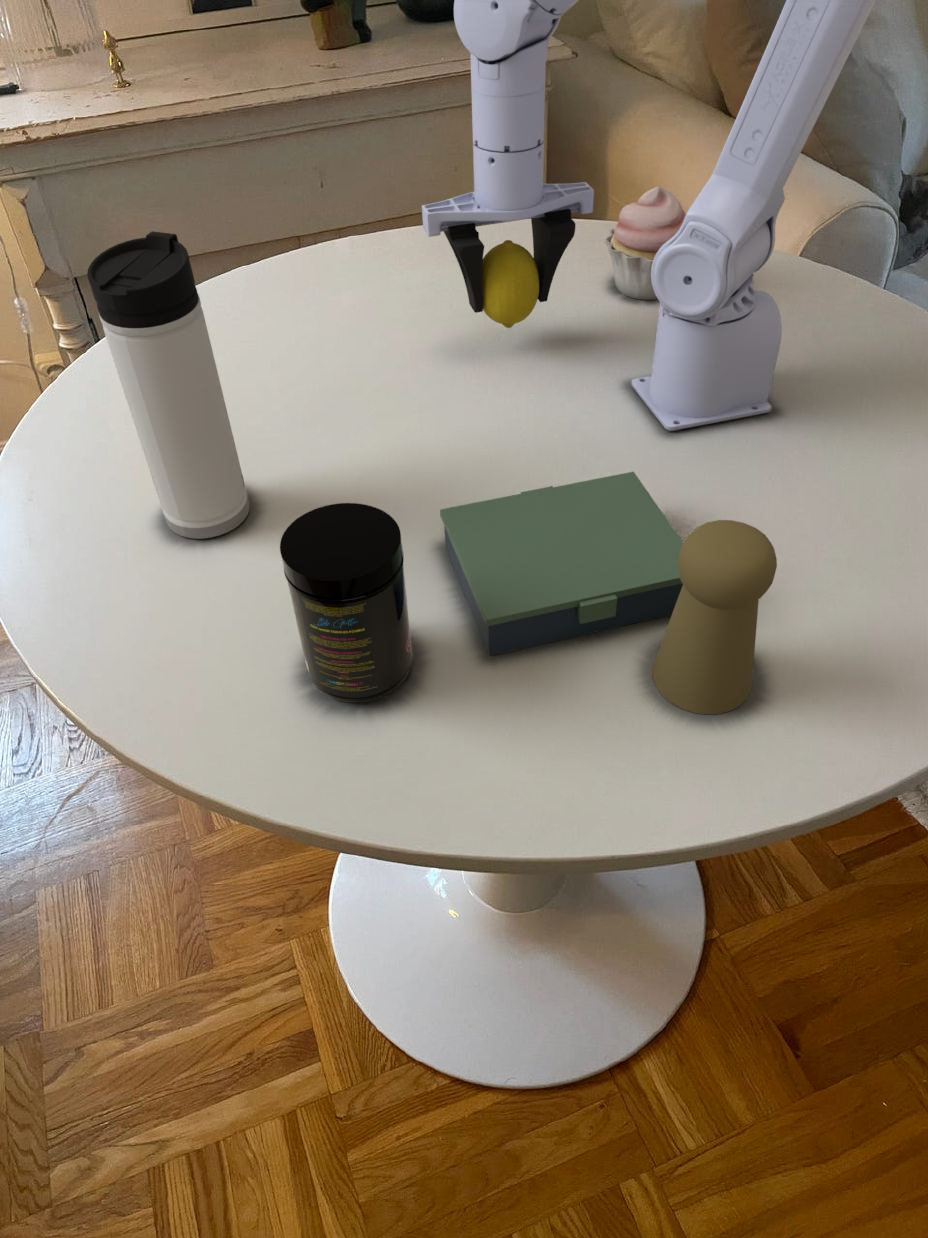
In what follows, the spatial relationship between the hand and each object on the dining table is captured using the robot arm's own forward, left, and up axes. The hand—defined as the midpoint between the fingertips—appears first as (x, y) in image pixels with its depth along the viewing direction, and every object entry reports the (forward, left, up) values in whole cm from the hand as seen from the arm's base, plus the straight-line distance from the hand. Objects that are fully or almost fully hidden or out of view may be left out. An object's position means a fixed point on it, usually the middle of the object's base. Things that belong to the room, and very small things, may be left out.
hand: (508, 302), depth 84 cm
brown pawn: (+1, +43, -5) cm, 43 cm away
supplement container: (+21, +36, -5) cm, 42 cm away
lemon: (0, 0, -3) cm, 3 cm away
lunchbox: (+6, +32, -4) cm, 33 cm away
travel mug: (+29, +17, -5) cm, 34 cm away
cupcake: (-17, -7, -5) cm, 19 cm away
